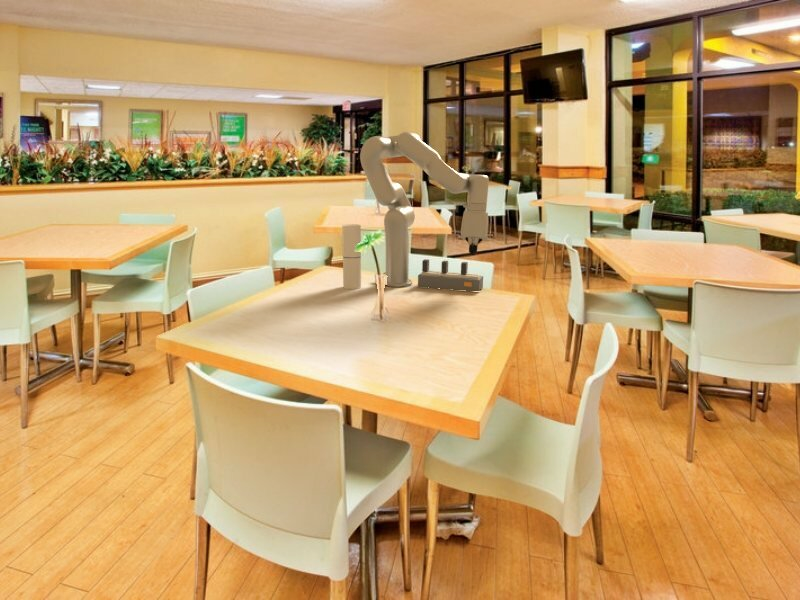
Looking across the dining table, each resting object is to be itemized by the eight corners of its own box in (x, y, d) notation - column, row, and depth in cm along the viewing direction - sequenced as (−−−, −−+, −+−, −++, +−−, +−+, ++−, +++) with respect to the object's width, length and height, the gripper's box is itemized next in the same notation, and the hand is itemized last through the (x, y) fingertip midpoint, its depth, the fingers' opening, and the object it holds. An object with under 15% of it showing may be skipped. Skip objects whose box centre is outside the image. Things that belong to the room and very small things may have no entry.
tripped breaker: (460, 274, 216) (461, 263, 215) (462, 272, 219) (462, 261, 218) (465, 274, 216) (466, 263, 215) (467, 273, 219) (467, 262, 217)
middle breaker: (441, 272, 219) (441, 261, 218) (443, 271, 222) (443, 260, 221) (446, 273, 218) (446, 262, 217) (448, 271, 221) (448, 260, 220)
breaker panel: (417, 287, 221) (417, 272, 219) (423, 283, 228) (423, 269, 227) (478, 292, 213) (479, 277, 211) (482, 288, 221) (483, 273, 219)
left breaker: (422, 271, 221) (422, 260, 220) (424, 269, 224) (424, 259, 223) (427, 271, 221) (427, 260, 220) (429, 270, 223) (429, 259, 222)
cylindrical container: (345, 289, 216) (344, 226, 210) (342, 285, 223) (340, 224, 217) (362, 288, 218) (362, 226, 212) (359, 284, 225) (358, 224, 218)
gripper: (455, 206, 208) (451, 254, 213) (494, 209, 204) (489, 258, 209) (459, 205, 215) (456, 251, 220) (497, 208, 211) (493, 255, 216)
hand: (472, 254), depth 214 cm, fingers closed
